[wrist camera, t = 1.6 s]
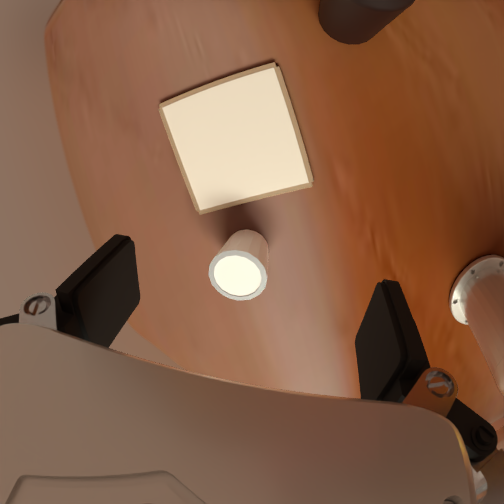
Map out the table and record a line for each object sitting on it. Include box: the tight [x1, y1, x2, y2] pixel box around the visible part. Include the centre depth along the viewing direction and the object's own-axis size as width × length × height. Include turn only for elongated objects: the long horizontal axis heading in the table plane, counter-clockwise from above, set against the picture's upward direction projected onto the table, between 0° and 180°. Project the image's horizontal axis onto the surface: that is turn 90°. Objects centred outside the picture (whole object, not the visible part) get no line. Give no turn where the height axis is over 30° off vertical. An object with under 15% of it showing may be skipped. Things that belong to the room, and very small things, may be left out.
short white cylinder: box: [209, 229, 269, 300], centre depth 38 cm, size 7×7×7 cm
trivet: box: [159, 62, 314, 215], centre depth 34 cm, size 15×15×1 cm
